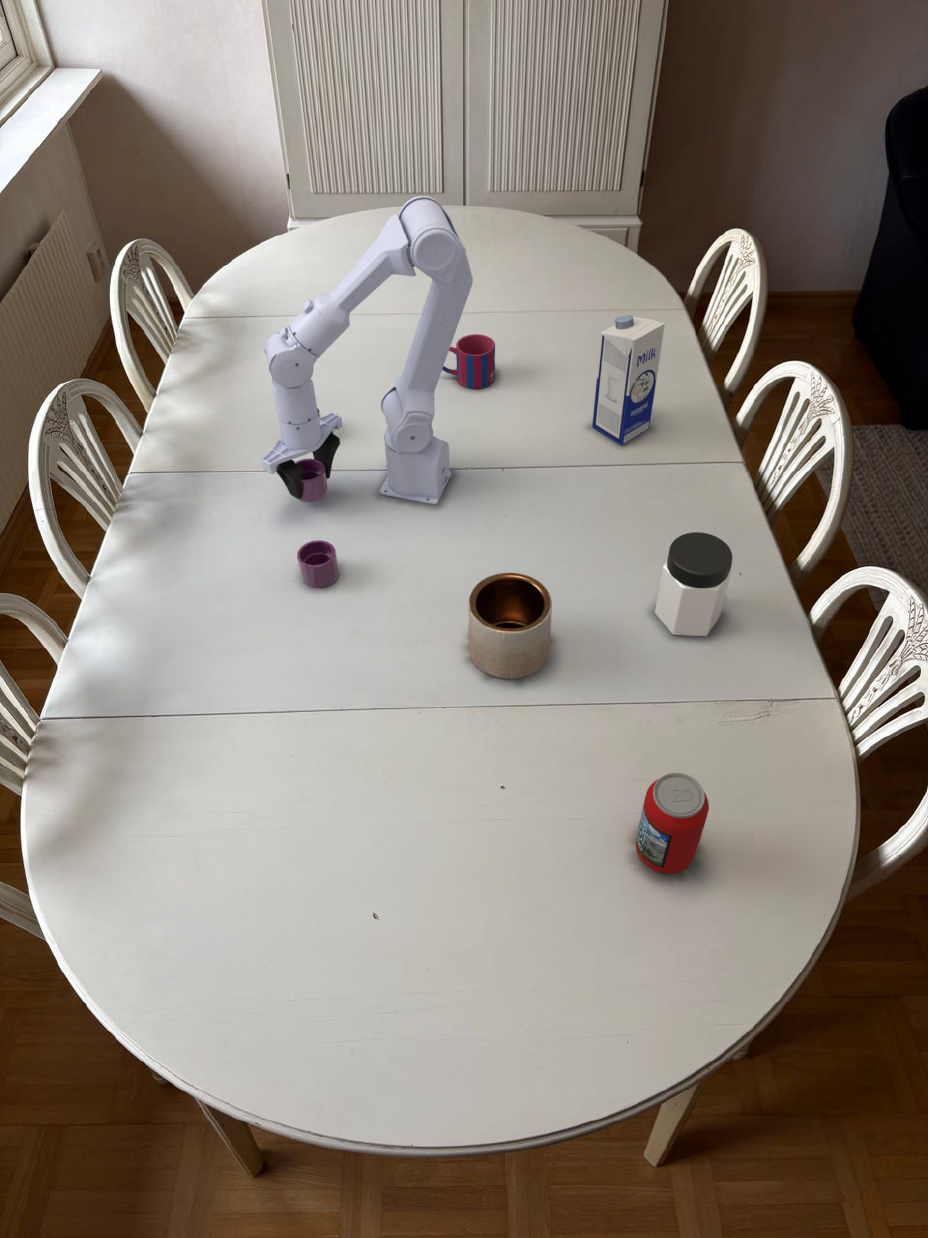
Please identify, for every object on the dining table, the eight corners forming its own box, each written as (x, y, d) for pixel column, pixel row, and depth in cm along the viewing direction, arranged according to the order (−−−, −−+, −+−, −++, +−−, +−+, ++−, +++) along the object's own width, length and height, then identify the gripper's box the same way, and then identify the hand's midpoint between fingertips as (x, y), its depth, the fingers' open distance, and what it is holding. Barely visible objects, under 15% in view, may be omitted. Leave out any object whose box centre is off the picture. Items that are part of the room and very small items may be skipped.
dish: (333, 484, 156) (330, 461, 152) (320, 506, 152) (316, 484, 149) (302, 478, 157) (297, 455, 153) (288, 500, 153) (283, 477, 150)
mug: (492, 390, 174) (493, 356, 169) (436, 387, 175) (434, 353, 170) (496, 368, 179) (496, 334, 174) (441, 365, 180) (439, 332, 175)
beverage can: (629, 827, 116) (640, 769, 107) (686, 822, 116) (702, 764, 107) (641, 880, 111) (654, 824, 103) (700, 875, 112) (718, 819, 103)
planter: (456, 634, 136) (454, 586, 129) (527, 610, 139) (529, 561, 132) (488, 692, 130) (488, 644, 123) (563, 665, 132) (567, 617, 125)
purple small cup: (344, 566, 146) (341, 544, 142) (330, 592, 142) (326, 570, 139) (310, 559, 147) (306, 537, 144) (295, 584, 143) (291, 562, 140)
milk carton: (620, 446, 163) (634, 339, 148) (591, 427, 167) (601, 321, 152) (650, 428, 166) (666, 321, 151) (620, 410, 170) (632, 304, 155)
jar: (731, 626, 136) (748, 564, 128) (681, 647, 134) (694, 585, 125) (693, 584, 142) (707, 522, 133) (644, 603, 140) (655, 541, 131)
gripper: (314, 379, 149) (325, 451, 159) (241, 425, 141) (257, 498, 152) (348, 397, 146) (357, 469, 156) (274, 445, 138) (289, 518, 148)
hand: (310, 485), depth 153 cm, fingers closed on dish, 5 cm apart
